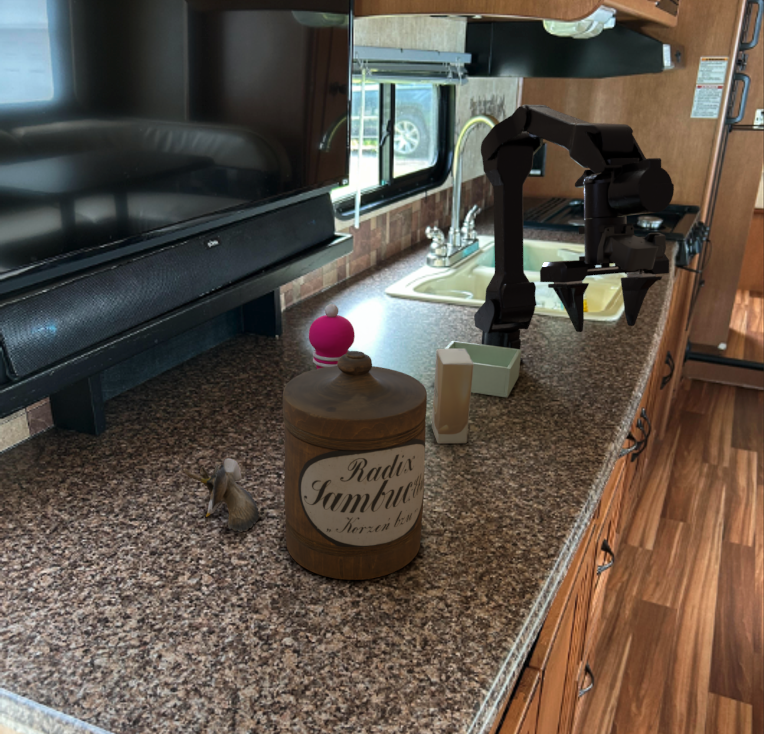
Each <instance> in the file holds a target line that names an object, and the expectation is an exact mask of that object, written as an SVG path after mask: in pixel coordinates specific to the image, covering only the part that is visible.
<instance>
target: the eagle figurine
mask: <svg viewBox="0 0 764 734" xmlns="http://www.w3.org/2000/svg"><path fill="white" fill-rule="evenodd" d="M240 469H241V467H240V465H239V463H238V461H236V460H235V459H233V458H227V457H226V458H225V459H224V460H223V464H221V465H220V469H219V465H218V464H215V467H214V471H213V473H212V474H211V476H209V473H208V471H207V469H206V468H205V466H201V467H200V470H199V474H197V473H194V472H192V471H190V470H189V469H188V468H183V469H182V471H183V472H184V473H185V475H186V476H188V477H189V478H191V479H193V480H196V481H198V482H200V483H201V484H203V485H204V487H206V488H207V490H208V492H209V493H210V495H209V496H210V497H209V502H208V507H207V512H206V515H205V517H206V518H208V517H210V515H212V514H214V513H215V512H216V510H217V508H218V506H219V504H220V503H222V502H223V503H225V505H226V507H227V508H226V509H227V511H228V518H227V526H228V529H229V530H232V531H234V532H237V531H238V532H239V533H243V532H247V531H249V529H252V528H253V526H254V525H256V524H257V521H258V520H259V518H260V516H259V515H260V511H259V507H258V505H257V503H256V502H255V499H254V497H253V496H252V495H251V493H250V492H249V491H247V489H245V488H244V487H242V486H241V485H240V484H238V483H237V482H238V481H240V480H241V479H242V472H241V470H240Z"/></svg>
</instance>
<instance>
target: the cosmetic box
mask: <svg viewBox="0 0 764 734" xmlns="http://www.w3.org/2000/svg"><path fill="white" fill-rule="evenodd" d="M435 352H436V353H435V354H436V355H435V369H434V385H433V399H432V400H433V401H432V414H431V415H432V417H431V428H432V431H433V435H434V438H435V440H436V444H467V442H468V432H469V422H470V421H469V420H470V408H471V397H472V392H471V387H472V376H473V362H472V360H471V358H470V356H469V354H468V352H467V351H466V349H445V348H436V351H435Z"/></svg>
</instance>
